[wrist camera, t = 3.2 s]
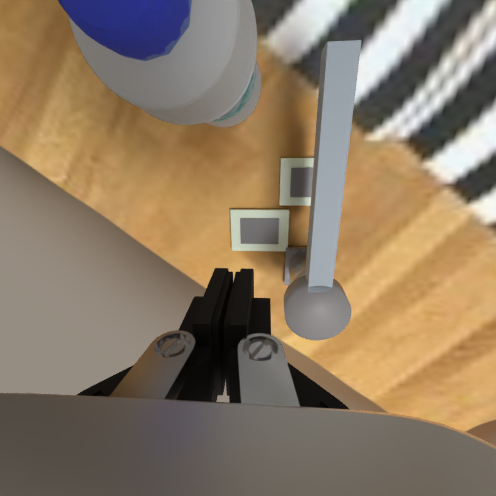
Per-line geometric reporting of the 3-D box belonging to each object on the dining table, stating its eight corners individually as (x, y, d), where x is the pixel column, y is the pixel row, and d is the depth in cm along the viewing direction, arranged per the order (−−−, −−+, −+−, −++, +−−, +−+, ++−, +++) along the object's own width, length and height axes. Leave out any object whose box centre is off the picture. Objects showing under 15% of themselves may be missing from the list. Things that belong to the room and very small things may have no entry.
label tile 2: (230, 209, 28) (230, 210, 28) (289, 209, 28) (289, 210, 28) (232, 249, 30) (231, 250, 30) (287, 250, 30) (287, 251, 29)
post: (285, 246, 30) (289, 274, 23) (327, 246, 29) (341, 276, 23) (284, 282, 31) (287, 317, 25) (323, 283, 31) (336, 319, 25)
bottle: (260, 37, 23) (212, -387, 4) (268, 125, 25) (257, 96, 7) (182, 50, 24) (-141, -259, 5) (197, 134, 26) (14, 131, 8)
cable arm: (332, 301, 28) (347, 341, 23) (281, 299, 29) (283, 338, 23) (360, 65, 20) (393, 38, 15) (290, 67, 21) (296, 43, 15)
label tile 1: (280, 158, 26) (281, 158, 26) (345, 157, 26) (346, 157, 25) (279, 204, 28) (279, 205, 27) (339, 204, 27) (340, 206, 27)
